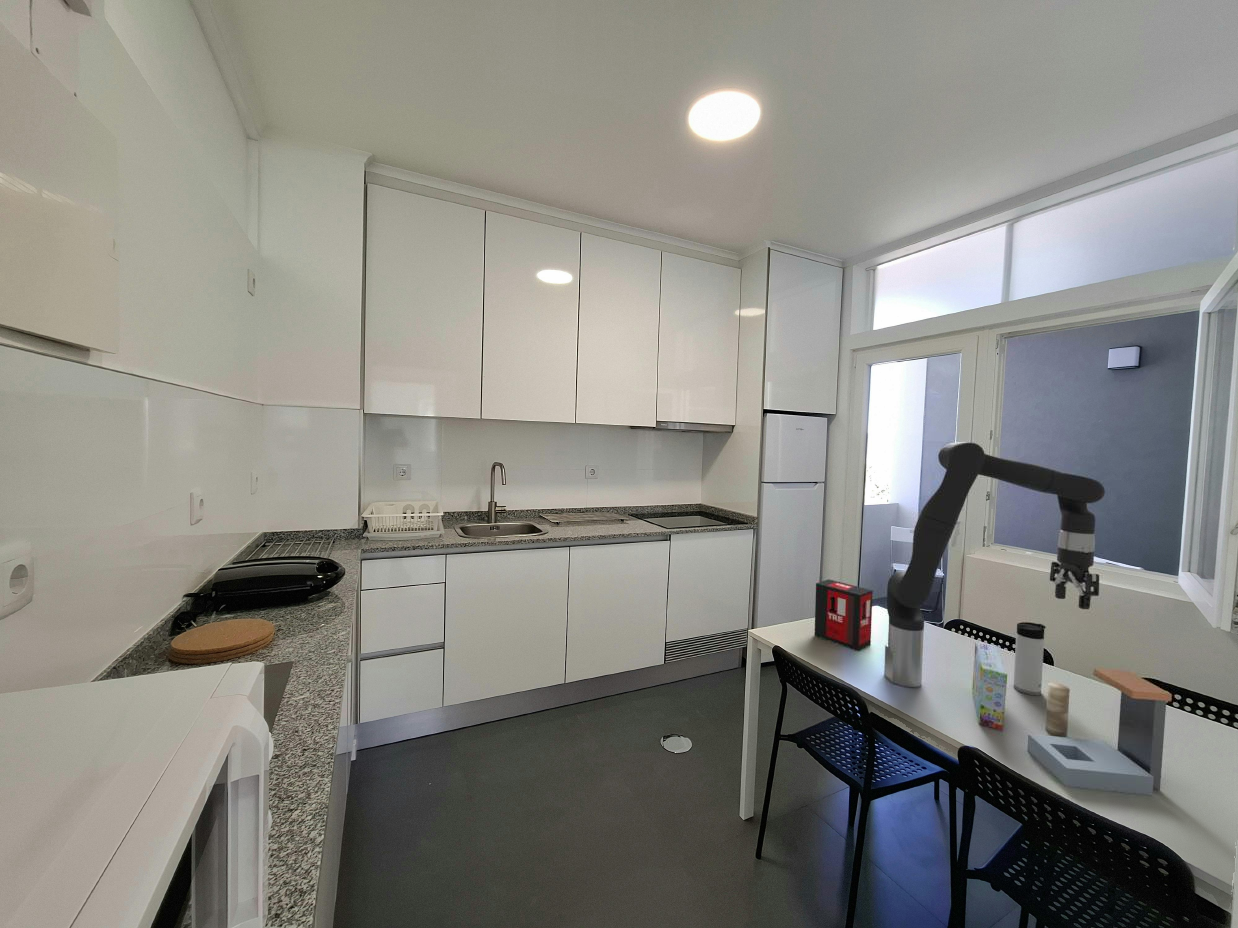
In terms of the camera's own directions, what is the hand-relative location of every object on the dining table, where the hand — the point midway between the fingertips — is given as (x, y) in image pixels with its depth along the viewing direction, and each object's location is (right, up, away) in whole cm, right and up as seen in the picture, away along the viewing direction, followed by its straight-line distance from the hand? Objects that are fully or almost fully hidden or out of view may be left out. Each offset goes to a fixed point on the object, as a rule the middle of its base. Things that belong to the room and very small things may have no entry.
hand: (1071, 603), depth 137 cm
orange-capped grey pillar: (-18, -29, -31) cm, 46 cm away
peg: (-19, -28, -15) cm, 37 cm away
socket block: (-25, -29, -30) cm, 48 cm away
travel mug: (-8, -27, +5) cm, 29 cm away
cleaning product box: (-47, -25, +40) cm, 67 cm away
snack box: (-28, -28, -5) cm, 40 cm away
